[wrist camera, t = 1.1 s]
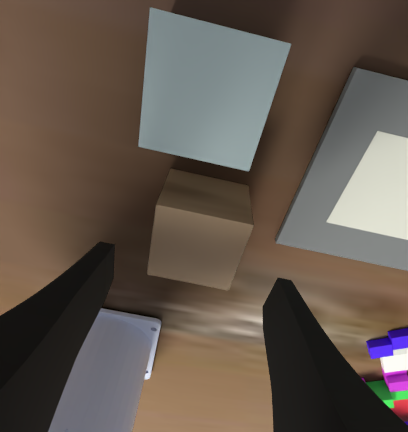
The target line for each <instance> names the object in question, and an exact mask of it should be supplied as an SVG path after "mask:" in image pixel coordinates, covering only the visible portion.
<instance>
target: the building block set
mask: <svg viewBox="0 0 408 432" xmlns="http://www.w3.org/2000/svg"><path fill="white" fill-rule="evenodd" d="M388 337H389V338H382V339H376V340H370V341H366V342H367V347H368V352H369V354H370V356H371V359H374V358H380V360H381V366H382V372H383V378H384V380H380V381H372V382H365V380H364V377H363V378H362V380H363V381H364V382H365V383H366V384H367V385H368V386H369V387H370V388H371V389H372V390H373V391H374V392H375V394H376V395H377V396H378V397H379V398H380V399H381V400H382V401H383V402H384V403H385V404H386V405H387V406H388V407H389V408H390V409H391V410H392V411H393V412H394V413H395V414H396V415H397V416H398V417H399V418H400V419H401V420H403V421H404V422H405V423H406V424H407V425H408V376H407V370H408V328H405V329H399V330H393V331H388Z"/></svg>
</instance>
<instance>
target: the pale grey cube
mask: <svg viewBox="0 0 408 432" xmlns="http://www.w3.org/2000/svg"><path fill="white" fill-rule="evenodd" d="M290 47H291V44H290V43H286V42H282V41H278V40H275V39H271V38H267V37H263V36H259V35H255V34H251V33H248V32H244V31H240V30H236V29H232V28H228V27H224V26H220V25H217V24H213V23H209V22H205V21H201V20H197V19H193V18H189V17H186V16H182V15H178V14H174V13H170V12H166V11H162V10H159V9H155V8H151V7H150V13H149V25H148V37H147V49H146V61H145V73H144V85H143V97H142V109H141V121H140V133H139V145H138V147H142V148H146V149H151V150H155V151H160V152H164V153H169V154H173V155H178V156H182V157H186V158H191V159H195V160H200V161H204V162H209V163H213V164H218V165H222V166H227V167H231V168H235V169H240V170H244V171H249V170H250V167H251V164H252V161H253V158H254V155H255V152H256V149H257V146H258V143H259V140H260V137H261V134H262V131H263V128H264V125H265V122H266V119H267V116H268V113H269V110H270V107H271V104H272V101H273V98H274V95H275V92H276V89H277V86H278V83H279V80H280V77H281V74H282V71H283V68H284V65H285V62H286V59H287V56H288V53H289V50H290Z"/></svg>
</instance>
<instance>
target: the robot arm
mask: <svg viewBox="0 0 408 432" xmlns="http://www.w3.org/2000/svg"><path fill="white" fill-rule="evenodd" d="M114 251H115V245H114V244H109V243H104V242H99V243H97V244H96V245H95V246H94V247H93V248H92V249H91V250H90V251H89V252H88V253H87V254H85V255H84V256H83V257H82V258H81V259H80V260H79V261H77V262H76V263H75V264H74V265H73V266H71V267H70V268H69V269H68V270H66V271H65V272H64V273H63V274H62V275H60V276H59V277H58V278H56V279H55V280H54V281H52V282H51V283H50V284H48V285H47V286H46V287H44V288H43V289H41V290H40V291H39V292H37V293H36V294H34V295H33V296H31V297H30V298H28V299H27V300H25V301H24V302H22V303H21V304H19V305H17V306H16V307H14V308H13V309H11V310H9V311H7V312H6V313H4V314H2V315H1V316H0V432H132V430H133V426H134V421H135V417H136V413H137V409H138V404H139V400H140V396H141V391H142V387H143V383H144V379H149V378H150V376H151V371H152V366H153V361H154V356H155V351H156V347H157V342H158V337H159V332H160V327H161V321H160V320H159V319H157V318H152V317H146V316H141V315H136V314H130V313H125V312H120V311H114V310H109V309H103V308H101V307H102V305H103V303H104V301H105V299H106V297H107V294H108V291H109V289H110V286H111V283H112V280H113V277H114ZM263 332H264V339H265V346H266V353H267V360H268V367H269V374H270V380H271V389H272V405H273V429H274V432H408V425H407V424H406V423H405V422H404V421H403V420H401V419H400V418H399V417H398V416H397V415H396V414H395V413H394V412H393V411H392V410H391V409H390V408H389V407H388V406H387V405H386V404H385V403H384V402H383V401H382V400H381V399H380V398H379V397H378V396H377V395H376V394H375V392H374V391H373V390H372V389H371V388H370V387H369V386H368V385H367V384H366V383H365V382H364V381H363V380H362V378H361V377H360V376H359V375H358V374H357V373H356V372H355V370H354V369H353V368H352V367H351V366H350V364H349V363H348V362H347V361H346V360H345V358H344V357H343V356H342V355H341V353H340V352H339V351H338V350H337V348H336V347H335V346H334V344H333V343H332V341H331V340H330V339H329V337H328V336H327V335H326V333H325V332H324V330H323V329H322V328H321V326H320V325H319V323H318V322H317V320H316V319H315V317H314V316H313V314H312V313H311V311H310V309H309V308H308V306H307V305H306V303H305V302H304V300H303V298H302V297H301V295H300V293H299V292H298V290H297V289H296V287H295V285H294V284H293V282H292V281H291V280H287V279H282V278H278V279H277V280H276V282H275V284H274V286H273V288H272V290H271V292H270V294H269V296H268V298H267V300H266V302H265V304H264V305H263Z"/></svg>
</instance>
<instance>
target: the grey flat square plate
mask: <svg viewBox="0 0 408 432" xmlns="http://www.w3.org/2000/svg"><path fill="white" fill-rule="evenodd" d="M275 241H276V243H277V244H282V245H287V246H292V247H296V248H301V249H306V250H311V251H316V252H320V253H325V254H330V255H335V256H339V257H344V258H349V259H354V260H359V261H363V262H368V263H373V264H378V265H382V266H387V267H392V268H397V269H402V270H406V271H408V81H407V80H403V79H399V78H395V77H392V76H388V75H384V74H380V73H376V72H372V71H368V70H364V69H360V68H356V67H353V69H352V71H351V74H350V76H349V78H348V80H347V82H346V85H345V87H344V89H343V91H342V93H341V96H340V98H339V100H338V102H337V104H336V107H335V109H334V111H333V113H332V115H331V117H330V120H329V122H328V124H327V126H326V128H325V131H324V133H323V135H322V137H321V139H320V142H319V144H318V146H317V148H316V150H315V153H314V155H313V157H312V159H311V161H310V164H309V166H308V168H307V170H306V172H305V174H304V177H303V179H302V181H301V183H300V185H299V188H298V190H297V192H296V194H295V196H294V199H293V201H292V203H291V205H290V207H289V210H288V212H287V214H286V216H285V218H284V221H283V223H282V225H281V227H280V229H279V231H278V234H277V236H276V238H275Z"/></svg>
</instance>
